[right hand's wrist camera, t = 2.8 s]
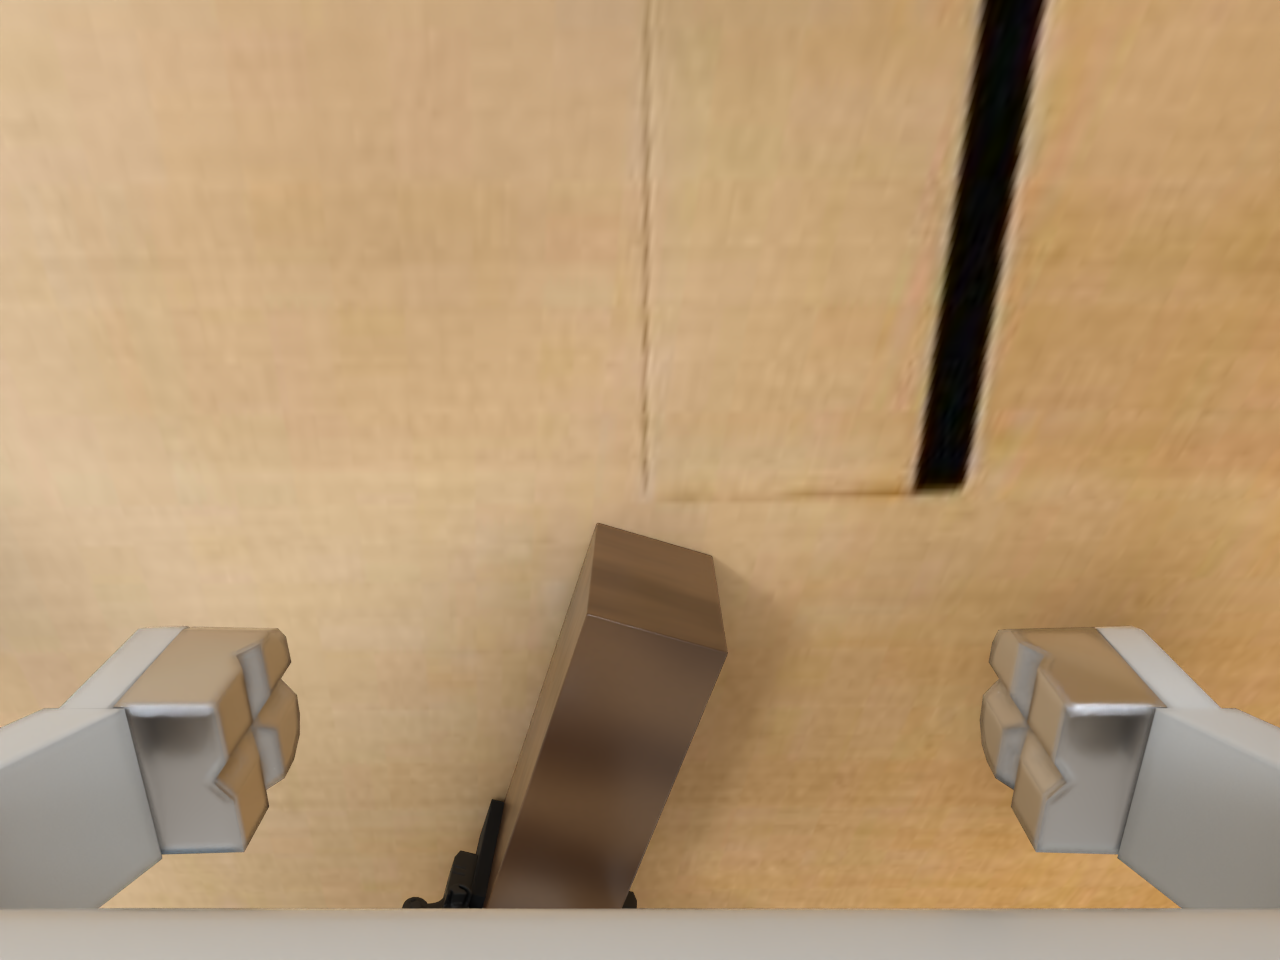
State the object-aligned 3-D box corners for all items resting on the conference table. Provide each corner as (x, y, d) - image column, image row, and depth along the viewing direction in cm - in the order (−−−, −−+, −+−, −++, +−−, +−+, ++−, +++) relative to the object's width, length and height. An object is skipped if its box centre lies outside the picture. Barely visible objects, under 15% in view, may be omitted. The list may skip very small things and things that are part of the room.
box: (597, 521, 43) (586, 613, 35) (712, 555, 44) (728, 653, 36) (484, 859, 51) (455, 998, 43) (584, 884, 52) (573, 1024, 44)
